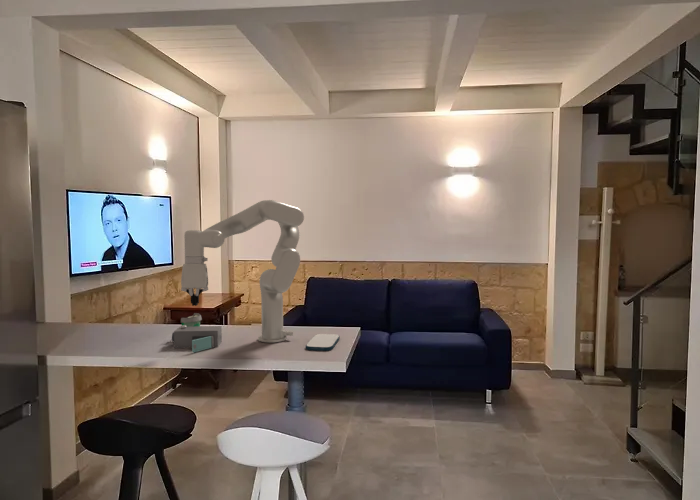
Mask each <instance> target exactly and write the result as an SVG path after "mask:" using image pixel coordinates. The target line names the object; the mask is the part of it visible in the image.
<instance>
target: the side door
mask: <svg viewBox="0 0 700 500" xmlns="http://www.w3.org/2000/svg"><path fill="white" fill-rule="evenodd" d="M214 348H215V347H214V336H209V337H204V338H200V339H196V340H192V348H191V352H192V353H196V352H200V351H204V350H208V349H214Z"/></svg>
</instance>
